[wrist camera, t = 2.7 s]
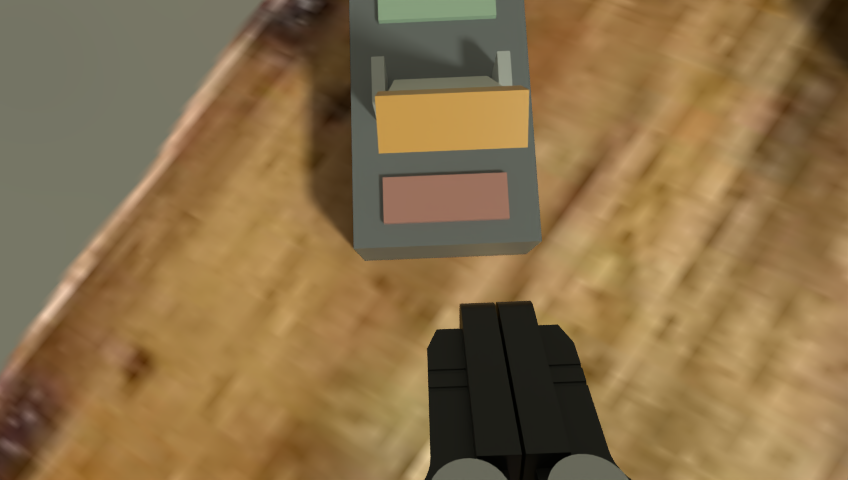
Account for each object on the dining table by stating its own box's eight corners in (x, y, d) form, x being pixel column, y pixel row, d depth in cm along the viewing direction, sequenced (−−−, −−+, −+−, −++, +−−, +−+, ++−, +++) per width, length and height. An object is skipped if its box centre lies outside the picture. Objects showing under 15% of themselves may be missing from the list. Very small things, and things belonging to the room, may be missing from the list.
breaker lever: (391, 72, 36) (374, 96, 23) (489, 68, 36) (529, 89, 23) (393, 110, 37) (378, 153, 24) (489, 106, 37) (527, 147, 24)
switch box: (359, 13, 45) (341, -65, 36) (508, 7, 45) (528, -74, 36) (364, 260, 41) (346, 241, 32) (526, 254, 41) (551, 232, 32)
